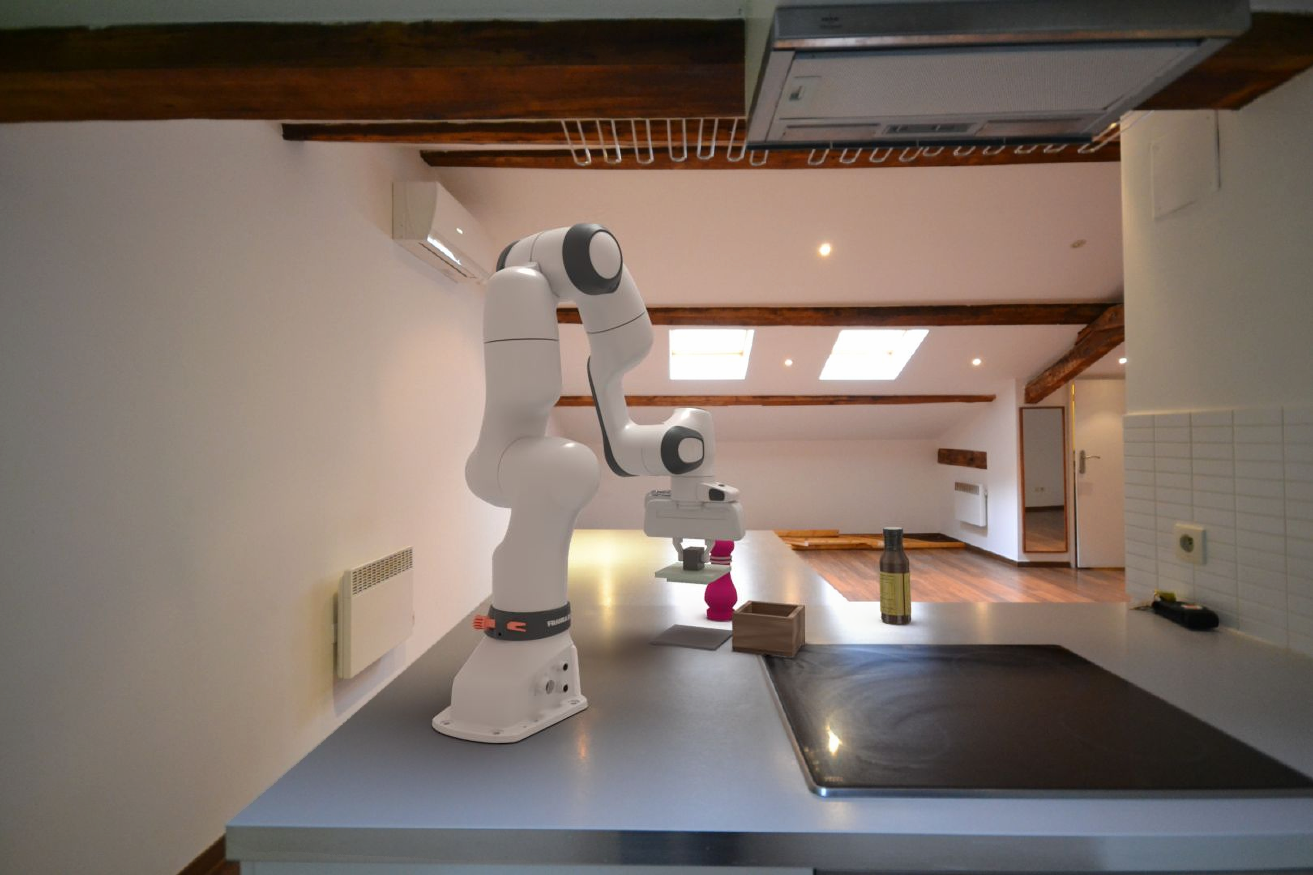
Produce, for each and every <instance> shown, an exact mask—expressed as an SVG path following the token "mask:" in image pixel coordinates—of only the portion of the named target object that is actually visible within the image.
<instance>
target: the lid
mask: <svg viewBox="0 0 1313 875" xmlns="http://www.w3.org/2000/svg"><path fill="white" fill-rule="evenodd" d="M705 550H706V546H705V547H704V546H687V547H686V548H683V561H677V562H674V563H672V564H669V565H668V566H665V567H663V568H661V569H659V570H656V571H655V572H654V578H655V579H657V578H658V579H659V578H660V579H666V582H670V583H679V584H681V583H682V584H692V585H694V584H695V585H703V586H704V585H706V586H707V585H708V584H709V583H711V582H713V581H715V580H717V579H718V578H720V577H722V576H723V575H725V574H727V573H728V572H730V573H731V571H732V564H730V565H715V564H711V563H700V557H699V554H700V553H702V552H703V553H704V552H705Z"/></svg>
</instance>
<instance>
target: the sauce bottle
mask: <svg viewBox="0 0 1313 875" xmlns="http://www.w3.org/2000/svg"><path fill="white" fill-rule="evenodd" d="M882 535H883V543H884V545H883V549H884V550H883V552H882V554H880V557H879V559H878V564H879V565H878V574H879V575H878V577H879V578H878V579H879V608H880V609H879V610H880V614H881V615H880V617H881V621H882V622H884V623H886V624H889V625H894V626H895V625H896V626H897V625H900V626H901V625H902V626H903V625H907V624H909V623H911V622H912V595H911V594H912V591H911V589H912V588H911V571H910V559H909V557H908V556H907V554H906V552H905V551H904V545H903V544H904V543H903V536H904V528H903V527H901V526H886V527H883V528H882Z"/></svg>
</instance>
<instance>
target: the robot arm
mask: <svg viewBox="0 0 1313 875" xmlns="http://www.w3.org/2000/svg"><path fill="white" fill-rule="evenodd" d="M620 246H621V245H620V243H619V241H618V239H616V236H614V234H613V233H612V232H611V231H610V230H609V229H608V228H607V227H605V226H604V225H603V224H601V223H593V222H583V223H576V224H574V225H572V226H565V227H560V228H554V229H546V230H543V231H539V232H538V233H535V234H532V235H530V236H528V237H525V238H519V239H517V240H514V241H513V242H511V243H510V244H508V245H507V246H506V247H504V249H503V250H502V251H501V253H500V254H499V256H498V259H497V262H496V266H495V273H494V274H493V275H492V276H490V278H489V279H488V281H487V284H486V289H485V294H484V295H485V296H484V303H483V320H482V323H483V324H482V336H483V339H482V341H483V354H484V356H483V358H484V377H485V404H484V410H483V417H482V421H481V427H480V432H479V435H478V440H477V442H476V445H475V447H474V448H473V449H472V452H470V454H469V456H468V457H467V459H466V463H465V467H464V477H465V483H466V484H467V487H468V489H469V490H470V492H471V493H472V494H473V495H474V496H476V498H479V499H481V500H482V501H484V502H486V503H488V504H490V505H492V506H494V507H497V508H502V509H510V517H509V521H508V526H507V530H506V532H505V535H504V537H503V539H502V541H501V542H500V543H499V544H498V545H497V546H496V547H495V548H494V551H493V553H492V555H491V556H492V557H491V558H492V559H491V574H492V575H491V588H492V589H491V590H492V591H491V598H492V599H491V605H490V606H489V609H488V612H487V615H485V616H484V615H481V614H477V615H475V616H474V617H473V619H472V628H473V629H474V630H477V631H478V630H479V631H481V630H483V634H484V636H483V637H482V639H481V641H480V642H479V643H478V644H477V646H476V647H475V649H474V651H473V652H472V653H471V654H470V656H469V657H468V658H467V660H466V661H465V663H464V664H463V666H462V667H461V668H460V670H459V671H458V673H457V674H456V675H455V677H454V679H453V683H452V688H451V696H450V697H451V698H450V700H451V701H450V705H449V706H447V707H446V708H444V709H443V710H442V711H441V712H439V713H438V714H437V715H435V717H433V718H432V722H431V725H432V727H433V729H434V730H436V731H437V732H440V734H444V735H446V736H450V737H454V738H458V739H462V740H468V741H473V742H480V743H491V744H492V743H493V744H494V743H495V744H499V743H501V744H502V743H506V744H507V743H515V742H519V741H521V740H523V739H525V738H528V737H529V736H531V735H534V734H536V733H538V732H541V731H542V730H544V729H546V728H547V727H550V726H552V725H554V724H556V723H558V722H561V721H562V720H564V719H566V718H569V717H571V716H573V715H575V714H576V713H579V712H581V711H584V710H585V709H587V708H588V707H589V706H588V705H589V704H588V699H587V697H586V696H584V694H583V695H582V693H581V690H582V689H581V679H580V668H579V657H578V649H577V647H576V644H574V642H573V640H572V637H571V634H570V631H569V628H570V627H571V626H572V625H571V624H572V621H571V620H572V619H571V618H572V610H571V603H570V601H569V600H568V590H569V588H568V582H569V581H568V580H569V578H568V577H569V575H568V574H569V554H570V548H571V547H570V546H571V542H572V538H573V534H574V531H575V527H576V525H577V522H578V520H579V517H580V516H581V513H582V512H583V511H584V509H585V508H587V506H588V505H589V504H590V503H591V502H592V501H593V499H595V497H596V495H597V493H598V490H599V488H600V484H601V476H602V475H601V467H600V463H599V460H598V457H597V456H596V454H595V453H594V451H593V450H592V449H591V448H590V447H588V446H587V445H585V444H583V443H580V442H578V441H575V440H573V439H568V438H565V437H562V436H546V431H547V424H548V420H549V416H550V415H551V412H552V409H553V408H554V406H555V405H556V404H558V401H559V400H560V398H561V396H562V393H563V392H562V391H563V381H562V380H563V379H562V362H561V345H560V332H559V331H560V330H559V323H558V315H557V309H558V305H559V303H567V302H574V303H575V305H576V306H577V310H578V312H579V316H580V320H581V322H582V325H583V328H584V331H585V333H586V336H587V339H588V343H589V348H590V350H589V352H590V354H589V355H588V358H587V363H586V370H587V378H588V383H589V387H590V390H591V391H590V392H591V395H592V399H593V403H594V406H595V411H596V414H597V419H598V422H599V427H600V430H601V435H602V443H603V454H604V458H605V462H606V464H607V465H608V466H607V467H609V469H610V470H611V471H612V472H613V473H614V474H615V475H617V476H619V477H621V478H631V477H643V476H644V477H645V476H646V477H647V476H648V477H670V489H669V490H668V489H667V490H666V489H662V490H658V489H652V490H651V491H649V492H647V494H646V493H645V494H646V495H645V496H644V498H643V501H644V503H643V504H644V506H643V507H644V509H645V511H644V516H643V533H644V534H645V536H646V537H648V538H649V537H650V538H668V539H670V538H671V539H672V545H673V547H674V549H675V550H676V553H677V562H683V549H684V547H683V545H682V543H683V542H684V539H686V540H687V539H688V540H704V546H706V547H705V552H704V553H703V552H702V553H700V554H699V557H700V563H705V564H709V563H710V562H709V560H710V557H709V556H710V554H711V553H710V552H711V550H712V549H713V547H714V545H715V540H723V541H734V542H739V541H741V540H742V539H743V538H744V537H745V536H746V531H747V530H746V527H747V526H746V519H745V513H744V512H745V510H744V508H743V505H742V504H741V503H740V501H737V500H739V499H740V497H741V492H740V490H739V489H738V488H736V487H734V486H730V485H727V484H724V483H721V482H719V481H717V480H716V479H717V478H716V476H717V475H716V474H717V473H716V469H715V466H714V464H715V463H714V460H715V456H716V435H715V434H716V433H715V424H714V420H713V416H712V413H711V412H709V411H708V410H707V409H704V408H701V407H694V406H679V407H677V408H675V409H673V412H672V415H671V416H670V417H669V418H668V419H667V420H665V421H663V422H661V423H660V424H643V425H641V424H637V423H635V422H634V421H633V420H632V419H631V417H630V415H629V410H628V406H627V402H626V398H625V394H624V389H623V378H624V376H625V375H627V373H629V372H630V371H632V370H634V369H635V368H636V367H638V366H639V365H640V364H642V362H643V361H645V359H646V358H647V357H648V355H649V354H650V352H651V350H652V347H653V344H654V340H655V339H654V338H655V337H654V336H655V335H654V328H653V325H652V321H651V319H650V315H649V312H648V310H647V308H646V304H645V302H644V299H643V298H642V295H641V292H640V291H639V289H638V287H637V284H636V282H635V280H634V277H633V276H632V275H631V272H630V270H628V267H627V266H626V264H625V263H624V258H623V252H622V249H621V247H620ZM707 545H708V546H707Z"/></svg>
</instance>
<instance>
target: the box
mask: <svg viewBox="0 0 1313 875" xmlns="http://www.w3.org/2000/svg"><path fill="white" fill-rule="evenodd" d="M731 625H732V626H731V628H732V629H731V630H732V637H731V641H732V643H731V645H732V647H731V649H732V650H731V652H734V653H739V654H740V653H743V654H750V655H759V656H762V655H761V654H771V655H780V656H786V657H792V658H794V657H795V656H796V655H797V653H798V652H799V651H800V649H801V648H802V647H803V645H804V644H805V643H806V605H805V604H793V603H785V602H783V603H782V602H781V603H780V602H771V601H761V600H747V601H746V602H744V603H743V604H742V605H740V606H739V607H738V608H736V609H735V611H734V612H733V613H732V620H731ZM801 646H802V647H801ZM800 647H801V648H800ZM799 648H800V649H799ZM798 650H799V651H798ZM797 651H798V652H797ZM796 652H797V653H796ZM795 654H796V655H795ZM794 655H795V656H794ZM793 656H794V657H793Z"/></svg>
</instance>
